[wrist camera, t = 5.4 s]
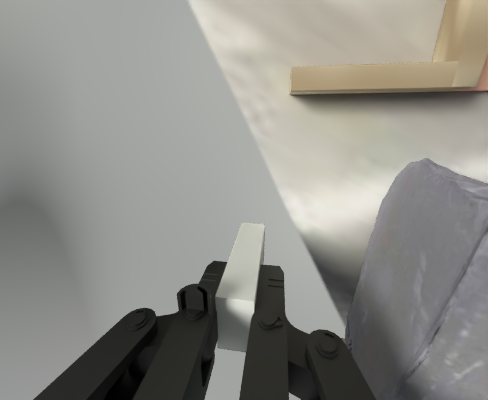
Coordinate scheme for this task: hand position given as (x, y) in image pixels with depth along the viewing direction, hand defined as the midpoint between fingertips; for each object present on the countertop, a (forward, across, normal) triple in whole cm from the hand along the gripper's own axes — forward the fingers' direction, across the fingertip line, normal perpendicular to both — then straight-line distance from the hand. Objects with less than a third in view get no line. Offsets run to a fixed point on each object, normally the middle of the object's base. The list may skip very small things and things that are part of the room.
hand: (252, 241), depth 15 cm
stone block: (+2, +8, 0) cm, 8 cm away
